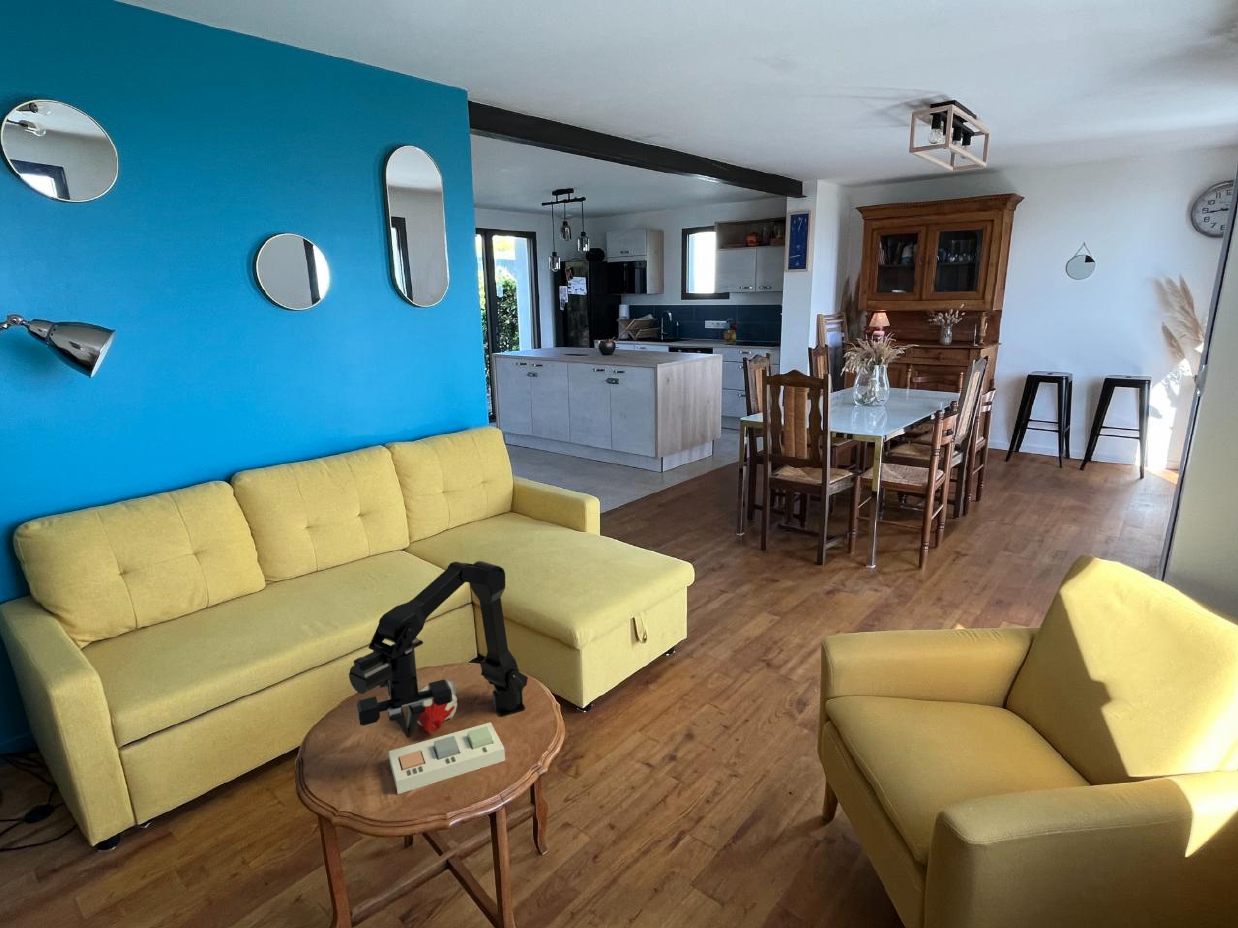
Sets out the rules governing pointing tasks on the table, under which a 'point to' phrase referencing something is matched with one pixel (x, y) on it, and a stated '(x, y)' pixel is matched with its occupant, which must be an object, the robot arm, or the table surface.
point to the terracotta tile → (411, 760)
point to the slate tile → (446, 747)
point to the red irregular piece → (437, 711)
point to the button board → (444, 760)
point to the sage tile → (479, 737)
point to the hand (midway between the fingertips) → (408, 736)
